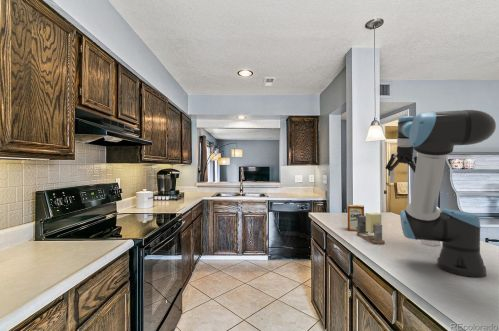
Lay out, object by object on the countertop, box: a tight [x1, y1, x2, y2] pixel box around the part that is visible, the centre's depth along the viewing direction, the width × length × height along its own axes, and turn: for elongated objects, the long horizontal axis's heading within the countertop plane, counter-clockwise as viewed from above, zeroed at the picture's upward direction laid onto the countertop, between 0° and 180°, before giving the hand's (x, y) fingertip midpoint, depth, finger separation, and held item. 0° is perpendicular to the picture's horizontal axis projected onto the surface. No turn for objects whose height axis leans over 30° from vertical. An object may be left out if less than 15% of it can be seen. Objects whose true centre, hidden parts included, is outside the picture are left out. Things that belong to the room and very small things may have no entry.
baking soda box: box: [347, 204, 365, 233], centre depth 165 cm, size 10×6×16 cm
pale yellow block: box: [365, 212, 382, 234], centre depth 141 cm, size 5×6×10 cm
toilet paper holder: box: [356, 215, 386, 245], centre depth 145 cm, size 18×6×12 cm, turn 5°
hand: (403, 184), depth 141 cm, fingers open, 13 cm apart
